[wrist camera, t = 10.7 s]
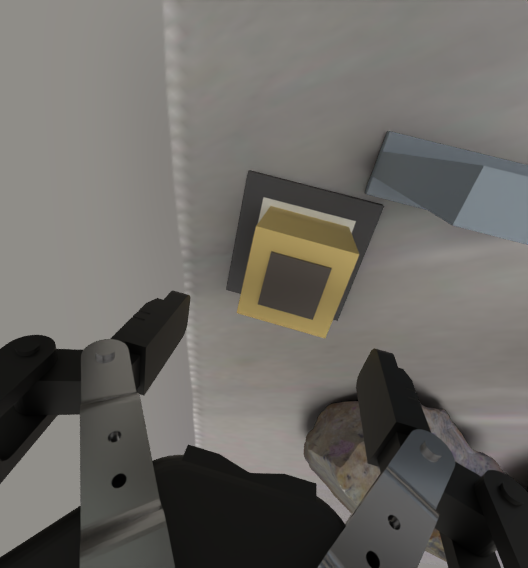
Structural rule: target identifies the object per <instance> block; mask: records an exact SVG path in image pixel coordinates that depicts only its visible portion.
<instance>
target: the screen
mask: <svg viewBox="0 0 528 568" xmlns="http://www.w3.org/2000/svg"><path fill="white" fill-rule="evenodd" d="M365 193H366V194H367V195H371V196H375V197H379V198H383V199H387V200H390V201H394V202H398V203H402V204H406V205H410V206H414V207H418V208H422V209H425V210H428V211H430V212H432V213H433V214H435V215H436V216H438V217H440V218H441V219H443V220H445V221H446V222H448V223H449V224H451V225H453V226H457V227H461V228H465V229H468V230H472V231H476V232H480V233H484V234H488V235H492V236H496V237H499V238H503V239H507V240H511V241H515V242H519V243H523V244H526V245H528V165H525V164H521V163H517V162H513V161H509V160H505V159H501V158H497V157H493V156H489V155H485V154H481V153H477V152H472V151H468V150H464V149H460V148H456V147H452V146H448V145H444V144H440V143H436V142H432V141H428V140H424V139H420V138H416V137H412V136H408V135H404V134H400V133H395V132H391V131H388V132H387V134H386V136H385V139H384V142H383V145H382V147H381V150H380V153H379V155H378V158H377V161H376V164H375V166H374V169H373V172H372V174H371V177H370V180H369V182H368V185H367V188H366V191H365Z"/></svg>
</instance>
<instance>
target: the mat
mask: <svg viewBox="0 0 528 568" xmlns="http://www.w3.org/2000/svg"><path fill="white" fill-rule="evenodd" d="M270 206H273V207H277V208H281V209H284V210H288V211H292V212H295V213H299V214H303V215H307V216H310V217H314V218H318V219H321V220H325V221H329V222H332V223H336V224H340V225H343V226H347V227H349V228H350V231H351V234H352V236H353V239H354V241H355V244H356V247H357V249H358V252H359V257H358V259H357V262H356V264H355V267H354V269H353V272H352V274H351V276H350V279H349V281H348V284H347V286H346V289H345V291H344V294H343V296H342V298H341V301H340V303H339V306H338V308H337V311H336V313H335V316H334V318H333V320H337V321H338V318H339V316H340V313H341V311H342V308H343V306H344V303H345V301H346V299H347V296H348V294H349V291H350V289H351V286H352V284H353V281H354V279H355V276H356V274H357V272H358V269H359V267H360V264H361V262H362V259H363V257H364V254H365V252H366V250H367V247H368V245H369V242H370V240H371V237H372V235H373V232H374V230H375V227H376V225H377V223H378V220H379V218H380V215H381V213H382V210H383V208H384V206H383V205H382V204H378V203H374V202H370V201H366V200H362V199H358V198H355V197H351V196H347V195H343V194H339V193H335V192H331V191H328V190H324V189H320V188H316V187H312V186H308V185H304V184H300V183H297V182H293V181H289V180H285V179H281V178H277V177H273V176H269V175H266V174H262V173H258V172H254V171H248V175H247V180H246V186H245V191H244V197H243V202H242V207H241V213H240V218H239V223H238V229H237V234H236V239H235V245H234V250H233V256H232V261H231V266H230V272H229V277H228V282H227V288H226V290H229V291H233V292H236V293H240V294H241V291H242V289H241V288H242V283H243V279H244V274H245V270H246V265H247V261H248V256H249V252H250V247H251V243H252V239H253V237H254V233H255V228H256V225H257V224H258V223H259V221H260V220H261V219H262V217H263V216H264V214H265V213H266V212H267V210H268V209H269V207H270Z"/></svg>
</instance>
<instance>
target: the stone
mask: <svg viewBox="0 0 528 568" xmlns="http://www.w3.org/2000/svg"><path fill="white" fill-rule="evenodd" d="M421 406H422V409H423V412H424V414H425V417H426V420H427V422H428V425H429V428H430V430H431V433H432V434H434V435H436V436H437V437H438V438H440V439H441V440H442V441H443V442H444V443H445V444H446V445H447V447H448V448H449V449H450V451H451V452H452V454H453V457H454V460H455V461H456V462H457V463H459V464H460V465H462V466H464V467H466V468H467V469H469V470H471V471H473V472H474V473H476V474H478V475H480V476H482V475H483V474H484V473H485V472H487V471H488V470H497V471H500V472H502V473H503V471H502V470H501V468H500V467H499V465H498V464H497V463H496V461H495V460H494V459H493V458H491V457H489V456H487V455H485V454H484V453H481V452H476V451H474V450H472V449H471V447H470V446H469V445H468V444H467V442H466V440H465V439H464V437H463V435H462V434H461V432H460V431H459V429H458V428H457V427H456V425H455V424H454V423H453V422H452V421H451V420H450V417H449V415H448V414H447V412H446V410H445V409H435V408H428V407H425V406H423V405H421ZM304 457H305V459H306V461H307V462H308V463H309V466H310V468H311V469H312V470H313V471H314V472H315V473H316V474H317V475H318V476H319V478H320V479H321V480H322V481H323V482H324V483H325V484H326V485H327V487H328V488H329V489H330V490H331V492H332V493H333V495H334V496H335V497H336V498H337V499H338V500H339V501H340V502H341V503H342V504H343V505H344V506H345V507H346V508H347V509H348V510H349V511H350V512H351V513H353V511H354V510H355V509H356V507H357V506H358V504H359V503H360V502H361V500H362V499H363V497H364V496H365V494H366V493H367V492H368V490H369V489H370V487H371V486H372V485H373V483H374V482H375V480H376V479H377V478H378V476H379V475H380V468H379V467H378V466H374V465H371V464H368V463H367V456H366V450H365V443H364V436H363V430H362V423H361V416H360V409H359V403H358V401H349V402H340V403H333V404H330V405H329V406H327V407H326V409H325V410H324V411H323V412H321V414H320V415H319V416H318V418H317V422H316V424H315V426H314V429H313V430H311V431H310V432H309V433H308V435H307V436H306V442H305V444H304ZM425 551H427V552H429V553H431V554H433V555H435V556H437V557H439V558H440V559H442V560H444V561H446V562H447V560H446V556H445V552H444V548H443V544H442V540H441V536H440V533H439V531H438V530H437V529H435V528H434V530H433V532H432V535H431V537H430V539H429V542H428V544H427V546H426V549H425Z"/></svg>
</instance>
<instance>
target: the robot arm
mask: <svg viewBox="0 0 528 568" xmlns="http://www.w3.org/2000/svg"><path fill="white" fill-rule="evenodd" d="M189 306H190V295H187V294H183V293H179V292H176V291H171V292H170V293H169V294H168V296H167V297H166V298H165V299H164V300H162V299H158V298H157V299H154V300H152V301H150V302H148V303H146V304H145V305H144V306H143V307H142V308H141V309H140V310H139V312H137V313H136V314H135V315H134V316H133V318H131V319H130V320H129V321H128V322H127V323H126V324H125V325H124V326H123V327H122V328H121V329H120V330H119V331H118V332H117V333H116V334H115V335H114V336H113V337H112V338H111V339H104V340H99V341H96V342H94V343H92V344H90V345H88V346H87V347H86V348H85V349H84V350H70V349H56V345H55V342H54V341H53V340H52V339H51V338H49V337H47V336H43V335H30V336H24V337H21V338H18V339H15V340H13V341H11V342H9V343H8V344H6V345H5V346H4V347H2V348H1V349H0V484H1V482H2V481H3V480H4V479H5V478H6V476H7V475H8V474H9V473H10V471H11V470H12V469H13V468H14V467H15V466H16V464H17V463H18V462H19V461H20V460H21V458H22V457H23V456H24V455H25V453H26V452H27V451H28V450H29V449H30V448H31V446H32V445H33V444H34V443H35V442H36V440H37V439H38V438H39V437H40V436H41V434H42V433H43V432H44V431H45V430H46V428H47V427H48V426H49V425H50V424H51V422H52V421H53V420H54V419H55V418H56V416H57V415H67V414H68V415H70V414H80V486H81V487H80V493H81V494H80V498H81V499H80V501H81V506H79V507H78V508H76V509H75V510H73V511H71V512H70V513H68V514H67V515H65V516H64V517H62V518H61V519H59V520H58V521H56V522H54V523H53V524H51V525H50V526H48V527H47V528H45V529H44V530H42V531H41V532H39V533H37V534H36V535H34V536H33V537H31V538H30V539H28V540H27V541H25V542H23V543H22V544H20V545H19V546H17V547H16V548H14V549H12V550H11V551H9V552H8V553H6V554H5V555H3V556H2V557H0V568H417V567H418V565H419V563H420V560H421V558H422V556H423V553H424V551H425V549H426V546H427V544H428V542H429V539H430V537H431V535H432V532H433V530H434V528H435V529H437V530H438V531H439V533H440V536H441V540H442V544H443V548H444V552H445V556H446V560H447V564H448V568H501V567H500V564H499V562H498V559H497V556H496V554H495V551H496V550H497V551H498V553H499V556H500V558H501V561H502V564H503V566H504V568H528V492H527V491H526V490H525V489H524V488H523V487H522V486H521V485H520V484H519V483H518V482H516V481H515V480H514V479H512V478H511V477H510V476H508V475H506V474H504V473H502V472H500V471H497V470H488V471H487V472H485V473H484V474H483V475H482V476H480V475H478V474H476V473H474V472H473V471H471V470H469V469H467V468H466V467H464V466H462V465H460V464H459V463H457V462H456V461H455V460H454V457H453V454H452V452H451V451H450V449H449V448H448V447H447V445H446V444H445V443H444V442H443V441H442V440H441V439H440V438H438V437H437V436H436V435H434V434H432V433H431V430H430V428H429V425H428V422H427V420H426V417H425V414H424V412H423V409H422V406H421V404H420V402H419V399H418V396H417V393H415V388H414V385H413V383H412V380H411V379H410V377H409V376H408V375H407V374H406V372H405V371H404V370H403V369H401V368H398V366H397V363H396V360H395V357H394V355H393V354H392V353H389V352H385V351H382V350H378V349H373V350H372V351H371V352H370V354H369V356H368V358H367V360H366V362H365V364H364V366H363V368H362V369H361V371H360V373H359V376H358V379H357V384H356V389H357V396H358V403H359V409H360V416H361V423H362V430H363V436H364V443H365V450H366V456H367V463H368V464H371V465H374V466H378V467H379V468H380V475H379V476H378V478H377V479H376V480H375V482H374V483H373V485H372V486H371V487H370V489H369V490H368V492H367V493H366V494H365V496H364V497H363V499H362V500H361V502H360V503H359V504H358V506H357V507H356V509H355V510H354V511H353V513H352V514H351V516H350V517H349V518H348V520H347V521H346V522H345V524H344V522H343V521H342V519H341V518H340V517H339V516H338V515H337V513H336V512H335V511H334V510H333V509H332V508H331V507H330V506H329V505H328V504H327V503H325V502H324V501H323V500H322V499H320V498H319V497H317V496H316V483H312V482H309V481H306V480H303V479H299V478H296V477H293V476H289V475H286V474H263V473H249V472H247V471H245V470H244V469H242V468H241V467H239V466H237V465H236V464H234V463H233V462H231V461H229V460H228V459H226V458H225V457H223V456H221V455H220V454H217V453H214V452H211V451H207V450H204V449H201V448H197V447H194V446H191V445H188V446H187V449H186V451H185V453H184V455H173V456H167V457H162V458H159V459H156V460H154V461H152V457H151V452H150V447H149V441H148V437H147V431H146V425H145V421H144V415H143V410H142V405H141V399H140V395H139V394H141V395H145V393H146V392H147V390H148V389H149V387H150V386H151V384H152V383H153V381H154V380H155V378H156V377H157V375H158V374H159V372H160V371H161V369H162V368H163V366H164V365H165V363H166V362H167V360H168V358H169V357H170V356H171V354H172V353H173V351H174V350H175V348H176V347H177V345H178V343H179V342H180V340H181V339H182V337H183V336H184V333H185V331H186V327H187V322H188V314H189Z"/></svg>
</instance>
